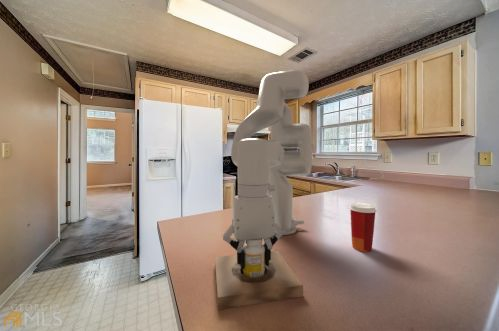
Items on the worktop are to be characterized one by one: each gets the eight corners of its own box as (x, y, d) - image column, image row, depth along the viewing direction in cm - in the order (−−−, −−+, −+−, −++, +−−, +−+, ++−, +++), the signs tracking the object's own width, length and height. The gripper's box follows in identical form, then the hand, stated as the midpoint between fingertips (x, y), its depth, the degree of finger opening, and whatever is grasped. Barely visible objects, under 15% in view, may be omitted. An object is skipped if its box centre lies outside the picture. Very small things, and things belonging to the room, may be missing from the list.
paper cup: (372, 244, 68) (373, 203, 68) (378, 255, 61) (379, 209, 60) (346, 241, 71) (347, 201, 70) (349, 251, 63) (350, 207, 63)
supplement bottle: (255, 285, 46) (255, 244, 45) (238, 276, 49) (238, 237, 49) (269, 274, 50) (269, 236, 49) (252, 267, 53) (252, 231, 53)
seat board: (277, 259, 59) (277, 250, 59) (302, 296, 43) (303, 285, 43) (215, 266, 55) (215, 257, 55) (218, 309, 40) (217, 297, 40)
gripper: (281, 187, 54) (281, 253, 55) (216, 189, 50) (217, 260, 51) (293, 192, 46) (293, 268, 47) (218, 195, 43) (219, 278, 44)
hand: (253, 263), depth 49 cm, fingers closed on supplement bottle, 5 cm apart
